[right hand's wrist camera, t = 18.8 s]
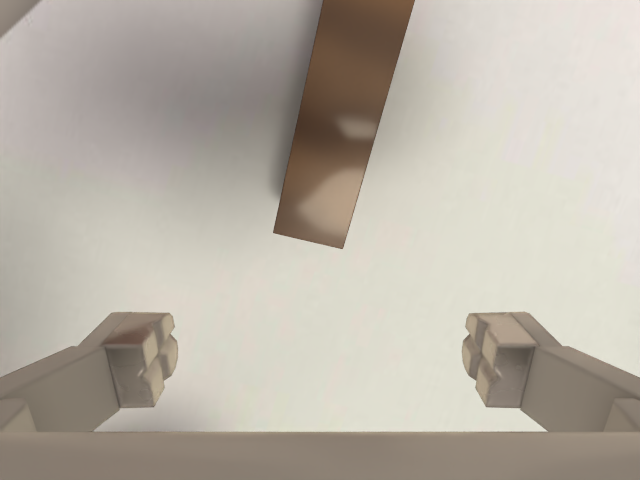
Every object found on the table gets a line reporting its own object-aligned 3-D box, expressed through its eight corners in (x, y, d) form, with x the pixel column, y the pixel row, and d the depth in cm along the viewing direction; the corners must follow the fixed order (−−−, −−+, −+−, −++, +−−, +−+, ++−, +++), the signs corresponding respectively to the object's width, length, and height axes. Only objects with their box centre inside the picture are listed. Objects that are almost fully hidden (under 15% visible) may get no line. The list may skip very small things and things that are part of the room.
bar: (337, 217, 35) (342, 249, 27) (283, 204, 35) (272, 233, 27) (429, -115, 27) (474, -205, 19) (358, -138, 26) (375, -239, 18)
